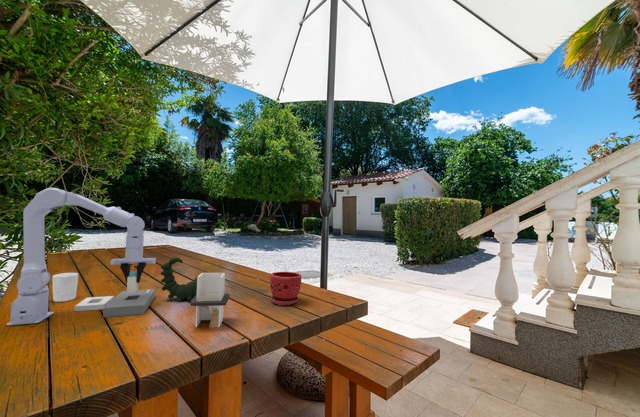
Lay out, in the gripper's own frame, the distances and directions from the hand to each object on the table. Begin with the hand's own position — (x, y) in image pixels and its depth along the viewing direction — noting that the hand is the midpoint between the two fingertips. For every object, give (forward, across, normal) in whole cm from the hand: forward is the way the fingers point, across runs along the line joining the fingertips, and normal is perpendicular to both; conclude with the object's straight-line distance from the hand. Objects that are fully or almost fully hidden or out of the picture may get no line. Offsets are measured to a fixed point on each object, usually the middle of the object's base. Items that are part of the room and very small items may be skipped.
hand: (133, 282), depth 110 cm
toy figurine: (+9, -21, -2) cm, 23 cm away
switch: (+9, 0, 0) cm, 9 cm away
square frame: (+9, +13, -4) cm, 16 cm away
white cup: (+9, +27, -16) cm, 33 cm away
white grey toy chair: (+10, -28, +26) cm, 40 cm away
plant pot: (+9, -58, +11) cm, 60 cm away
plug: (+3, 0, 0) cm, 3 cm away
